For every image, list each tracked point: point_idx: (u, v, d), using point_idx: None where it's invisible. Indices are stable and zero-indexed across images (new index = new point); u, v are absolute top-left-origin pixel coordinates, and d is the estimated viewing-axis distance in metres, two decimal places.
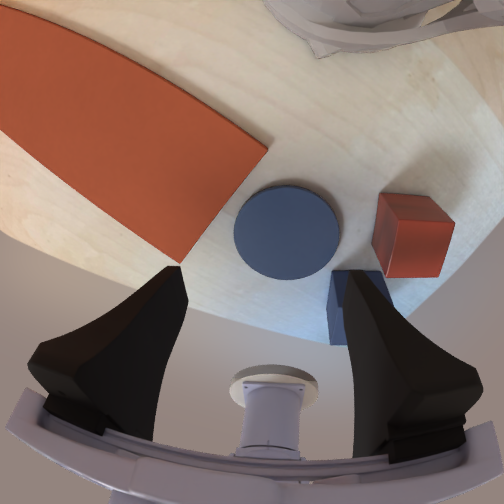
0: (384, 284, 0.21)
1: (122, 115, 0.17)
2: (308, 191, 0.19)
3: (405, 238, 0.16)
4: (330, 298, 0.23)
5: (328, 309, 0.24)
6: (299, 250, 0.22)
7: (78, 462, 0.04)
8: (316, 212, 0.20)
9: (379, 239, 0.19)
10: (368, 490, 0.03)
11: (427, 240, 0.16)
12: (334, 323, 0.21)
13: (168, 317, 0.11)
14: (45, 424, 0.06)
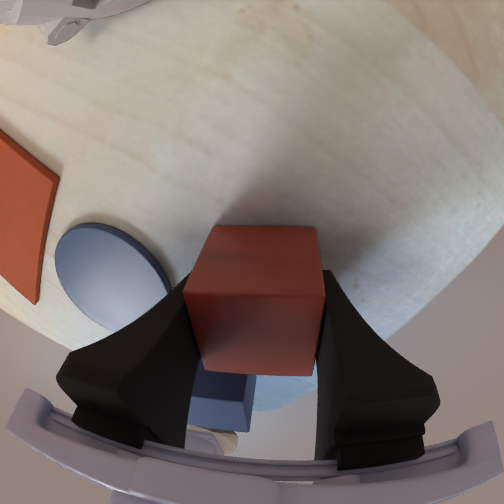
0: None
1: None
2: (108, 231, 0.13)
3: (209, 321, 0.09)
4: None
5: None
6: (126, 304, 0.15)
7: (78, 462, 0.04)
8: (126, 259, 0.13)
9: None
10: (368, 490, 0.03)
11: (260, 326, 0.09)
12: None
13: None
14: (45, 424, 0.06)
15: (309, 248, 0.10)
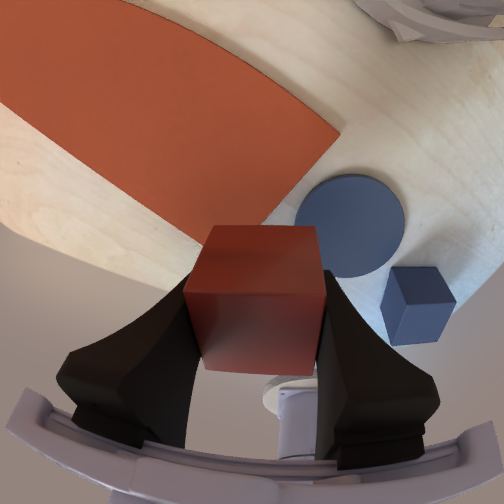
0: (443, 280, 0.19)
1: (169, 87, 0.15)
2: (378, 181, 0.17)
3: (209, 320, 0.09)
4: (389, 296, 0.21)
5: (385, 308, 0.21)
6: (363, 245, 0.19)
7: (78, 462, 0.04)
8: (385, 204, 0.17)
9: None
10: (368, 490, 0.03)
11: (260, 325, 0.09)
12: (399, 322, 0.18)
13: None
14: (45, 424, 0.06)
15: (310, 247, 0.10)
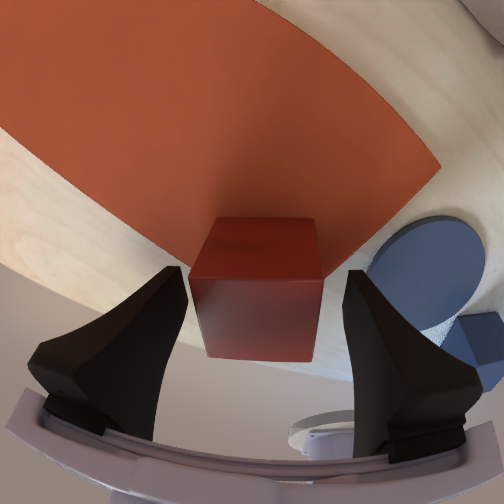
0: None
1: (204, 75, 0.10)
2: (468, 226, 0.12)
3: (213, 307, 0.10)
4: (451, 348, 0.15)
5: None
6: (438, 298, 0.14)
7: (78, 462, 0.04)
8: (470, 252, 0.12)
9: None
10: (368, 490, 0.03)
11: (261, 310, 0.10)
12: None
13: (168, 317, 0.11)
14: (45, 424, 0.06)
15: (308, 237, 0.11)
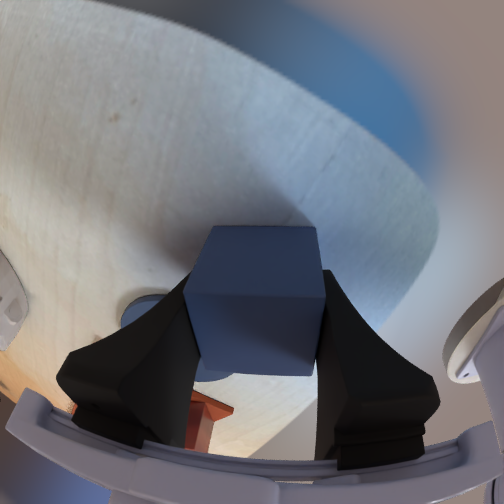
0: None
1: None
2: (121, 323, 0.17)
3: None
4: None
5: None
6: None
7: (78, 462, 0.04)
8: None
9: None
10: (368, 490, 0.03)
11: None
12: None
13: None
14: (45, 424, 0.06)
15: None
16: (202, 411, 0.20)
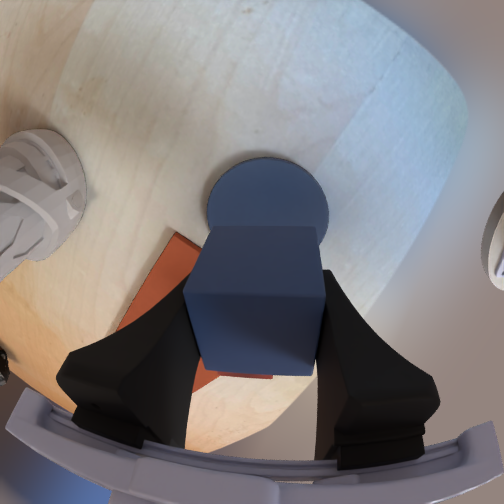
0: None
1: None
2: None
3: None
4: None
5: None
6: (283, 204, 0.18)
7: (78, 462, 0.04)
8: (231, 188, 0.18)
9: None
10: (368, 490, 0.03)
11: None
12: None
13: None
14: (45, 424, 0.06)
15: None
16: None
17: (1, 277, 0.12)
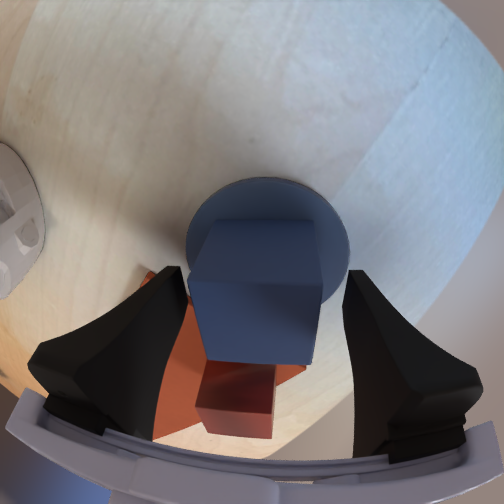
0: None
1: None
2: (188, 231, 0.13)
3: (224, 432, 0.16)
4: None
5: None
6: None
7: (78, 462, 0.04)
8: None
9: None
10: (368, 490, 0.03)
11: (222, 423, 0.15)
12: None
13: (168, 317, 0.11)
14: (45, 424, 0.06)
15: None
16: (274, 365, 0.17)
17: None
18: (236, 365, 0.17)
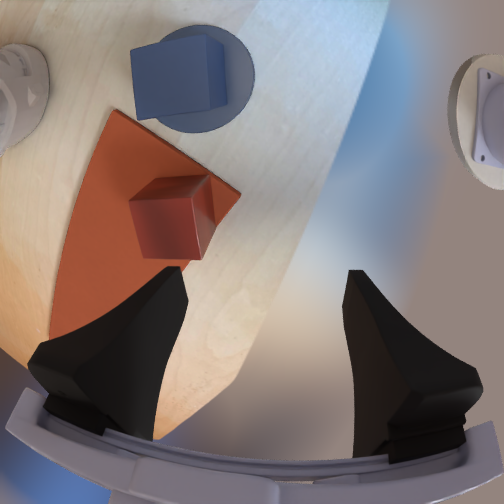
0: None
1: (104, 228, 0.23)
2: None
3: (156, 250, 0.18)
4: None
5: None
6: None
7: (78, 462, 0.04)
8: None
9: None
10: (368, 490, 0.03)
11: (152, 228, 0.18)
12: None
13: (168, 317, 0.11)
14: (45, 424, 0.06)
15: None
16: (206, 178, 0.19)
17: None
18: (173, 181, 0.19)
